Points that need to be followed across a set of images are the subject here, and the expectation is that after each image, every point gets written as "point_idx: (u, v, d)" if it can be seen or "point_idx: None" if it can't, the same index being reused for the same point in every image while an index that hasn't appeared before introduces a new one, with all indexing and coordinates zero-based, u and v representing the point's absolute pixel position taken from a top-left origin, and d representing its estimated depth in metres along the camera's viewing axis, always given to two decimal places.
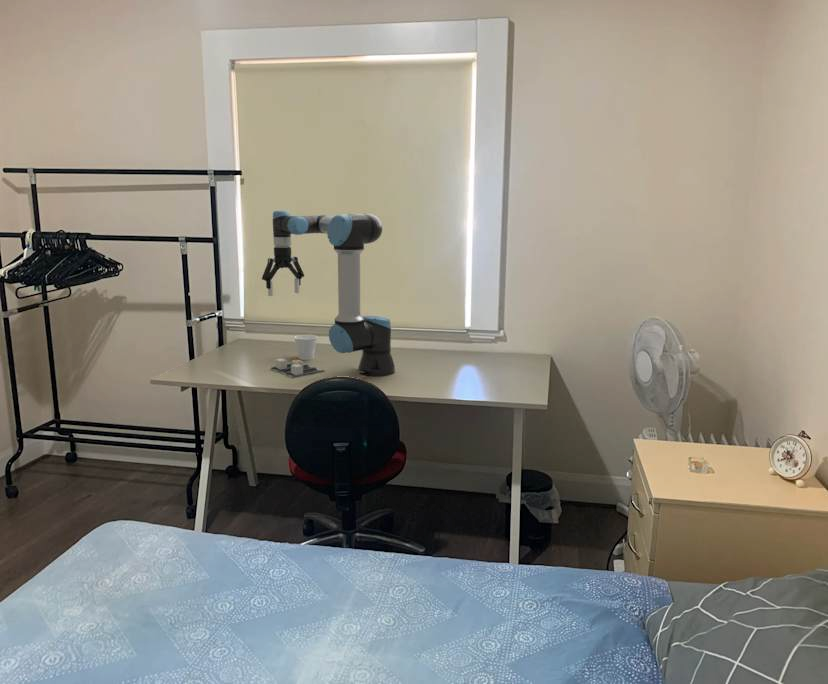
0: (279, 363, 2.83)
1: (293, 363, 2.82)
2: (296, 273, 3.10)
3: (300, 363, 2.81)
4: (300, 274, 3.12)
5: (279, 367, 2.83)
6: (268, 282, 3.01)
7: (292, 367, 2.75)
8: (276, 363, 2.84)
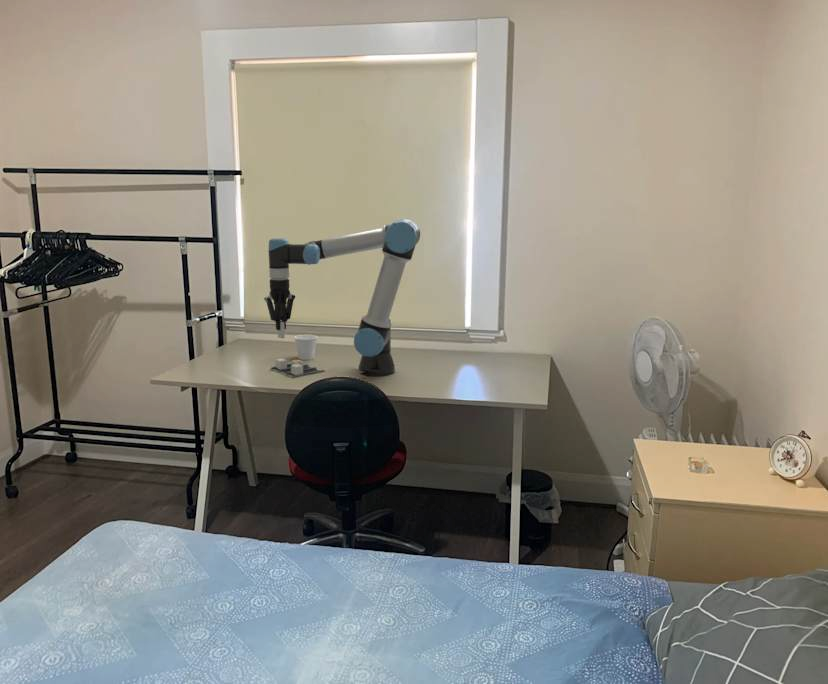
0: (279, 363, 2.83)
1: (293, 363, 2.82)
2: (284, 313, 2.73)
3: (300, 363, 2.81)
4: (286, 315, 2.75)
5: (279, 367, 2.83)
6: (278, 323, 2.73)
7: (292, 367, 2.75)
8: (276, 363, 2.84)
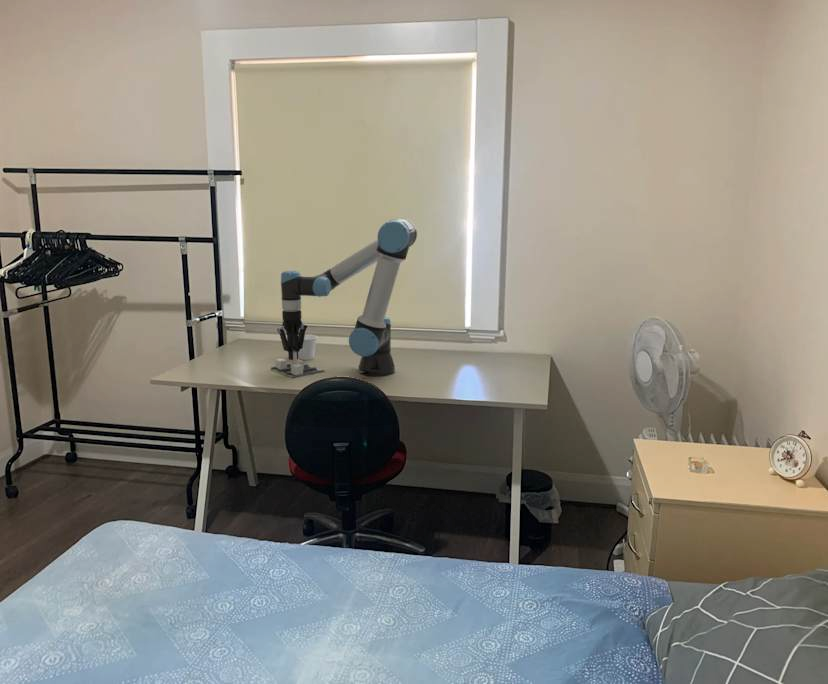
0: (279, 363, 2.83)
1: None
2: (297, 343, 2.79)
3: (301, 363, 2.81)
4: (298, 345, 2.81)
5: (279, 367, 2.83)
6: (290, 353, 2.79)
7: (292, 367, 2.75)
8: (276, 363, 2.84)
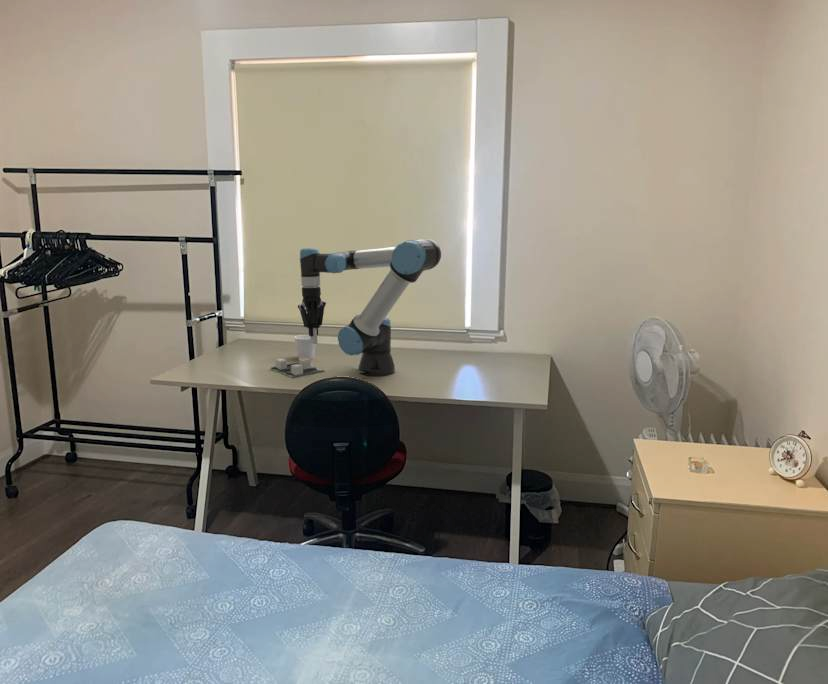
0: (279, 363, 2.83)
1: (300, 362, 2.84)
2: (316, 320, 2.83)
3: (307, 362, 2.83)
4: (318, 322, 2.85)
5: (279, 367, 2.83)
6: (311, 329, 2.82)
7: (292, 367, 2.75)
8: (276, 363, 2.84)
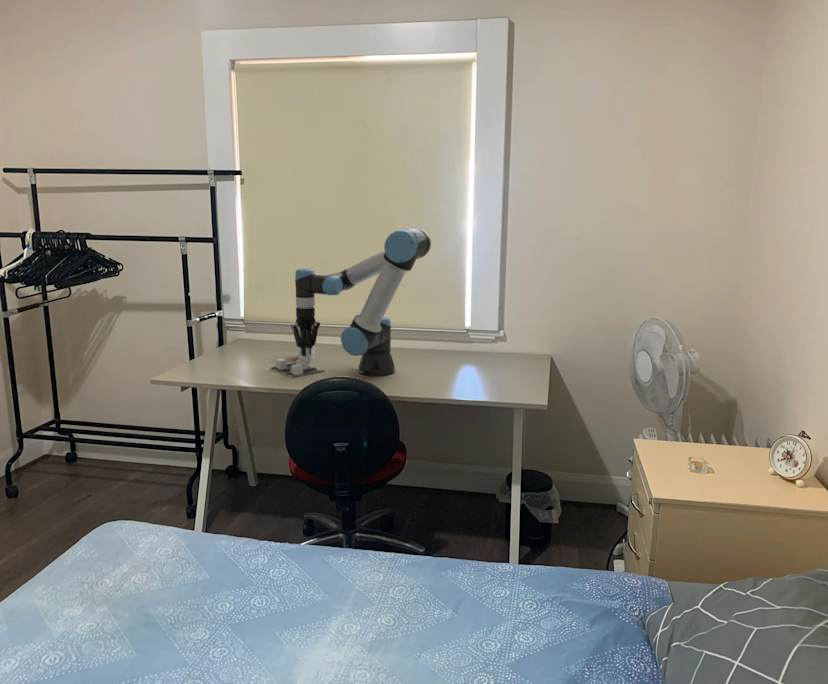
0: (279, 363, 2.83)
1: (298, 362, 2.83)
2: (309, 340, 2.84)
3: (305, 362, 2.83)
4: (311, 342, 2.86)
5: (279, 367, 2.83)
6: (303, 349, 2.83)
7: (292, 367, 2.75)
8: (276, 363, 2.84)
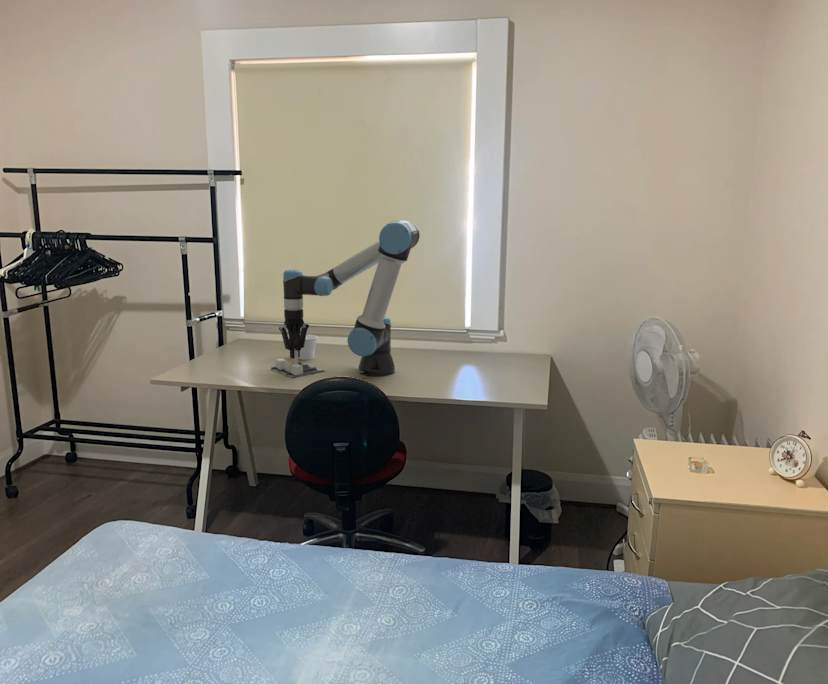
0: (279, 363, 2.83)
1: (286, 364, 2.80)
2: (298, 342, 2.80)
3: (293, 364, 2.79)
4: (300, 344, 2.82)
5: (279, 367, 2.83)
6: (292, 352, 2.79)
7: (292, 367, 2.75)
8: (276, 363, 2.84)
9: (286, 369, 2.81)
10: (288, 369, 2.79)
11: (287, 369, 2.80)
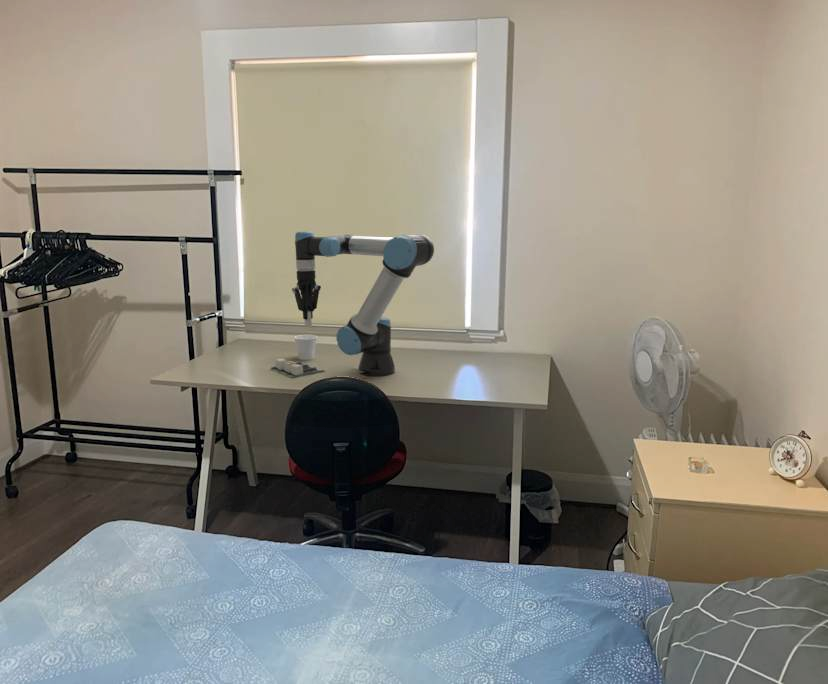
0: (279, 363, 2.83)
1: (286, 364, 2.80)
2: (311, 303, 2.84)
3: (293, 364, 2.79)
4: (313, 305, 2.87)
5: (279, 367, 2.83)
6: (305, 313, 2.84)
7: (292, 367, 2.75)
8: (276, 363, 2.84)
9: (285, 369, 2.80)
10: (287, 369, 2.79)
11: (286, 369, 2.80)
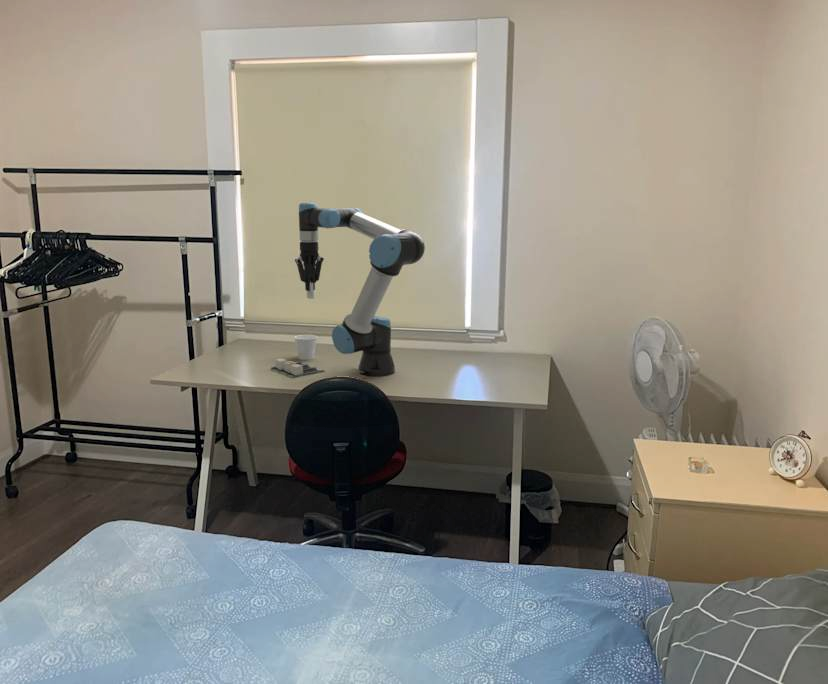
0: (279, 363, 2.83)
1: (286, 364, 2.80)
2: (313, 275, 2.86)
3: (293, 364, 2.79)
4: (315, 277, 2.89)
5: (279, 367, 2.83)
6: (307, 284, 2.86)
7: (292, 367, 2.75)
8: (276, 363, 2.84)
9: (285, 369, 2.80)
10: (287, 369, 2.79)
11: (286, 369, 2.80)
